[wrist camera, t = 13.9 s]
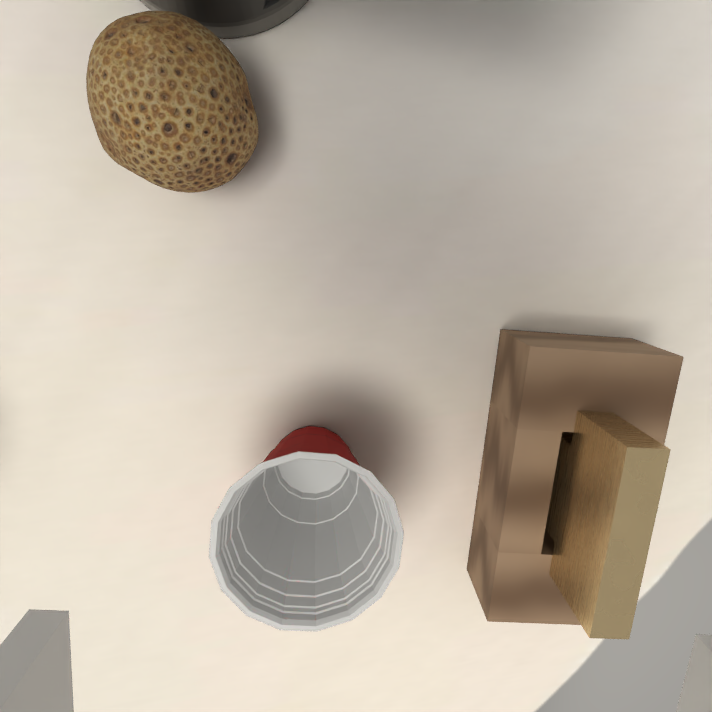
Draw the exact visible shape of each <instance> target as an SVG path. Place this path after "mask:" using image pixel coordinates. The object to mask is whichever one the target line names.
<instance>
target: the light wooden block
mask: <svg viewBox="0 0 712 712" xmlns="http://www.w3.org/2000/svg"><path fill="white" fill-rule="evenodd" d="M669 454H670V449H669V448H667V447H666V446H664V445H663V444H661V443H660V442H658V441H657V440H655V439H653V438H652V437H650V436H649V435H647V434H646V433H644V432H643V431H641V430H640V429H638V428H636V427H635V426H633V425H632V424H630V423H629V422H627V421H626V420H624V419H622V418H621V417H619V416H618V415H616V414H615V413H611V412H593V411H577V415H576V421H575V427H574V432H562V436H561V442H560V448H559V453H558V459H557V465H556V471H555V476H554V482H553V488H552V493H551V499H550V505H549V511H548V516H547V522H546V528H545V529H546V531H547V532H548V533H549V535H550V536H551V538H552V539H553V540H554V542H555V543H554V548H553V554H552V560H551V566H550V571H549V575H550V576H551V578H552V579H553V581H554V583H555V584H556V586H557V587H558V589H559V591H560V592H561V594H562V595H563V597H564V598H565V600H566V602H567V603H568V605H569V606H570V608H571V610H572V611H573V613H574V614H575V616H576V617H577V619H578V621H579V622H580V624H581V625H582V627H583V629H584V630H585V632H586V633H587V635H588V636H589V638H605V639H629V637H630V632H631V628H632V623H633V618H634V614H635V610H636V605H637V600H638V596H639V591H640V587H641V582H642V577H643V573H644V568H645V564H646V559H647V555H648V550H649V545H650V541H651V536H652V532H653V527H654V522H655V518H656V513H657V509H658V504H659V499H660V495H661V490H662V486H663V481H664V477H665V472H666V467H667V463H668V458H669Z"/></svg>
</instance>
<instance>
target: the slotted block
mask: <svg viewBox="0 0 712 712" xmlns="http://www.w3.org/2000/svg"><path fill="white" fill-rule="evenodd" d="M682 361H683V357H682V356H680V355H677V354H674V353H671V352H668V351H665V350H663V349H660V348H657V347H654V346H651V345H649V344H646V343H643V342H640V341H637V340H635V339H631V338H617V337H603V336H588V335H574V334H560V333H546V332H532V331H517V330H503V329H501V330H500V337H499V344H498V351H497V359H496V366H495V373H494V380H493V387H492V394H491V401H490V408H489V415H488V423H487V430H486V437H485V444H484V451H483V458H482V465H481V472H480V479H479V486H478V494H477V501H476V508H475V515H474V522H473V529H472V536H471V543H470V550H469V558H468V565H467V571H468V573H469V576H470V578H471V581H472V583H473V586H474V588H475V591H476V593H477V596H478V598H479V601H480V603H481V606H482V609H483V611H484V614H485V616H486V619H487V621H492V622H519V623H545V624H572V625H581V624H580V622H579V621H578V619H577V617H576V616H575V614H574V613H573V611H572V610H571V608H570V606H569V605H568V603H567V602H566V600H565V598H564V597H563V595H562V594H561V592H560V591H559V589H558V587H557V586H556V584H555V583H554V581H553V579H552V578H551V576H550V575H549V571H550V566H551V560H552V554H553V548H554V543H555V542H554V540H553V539H552V538H551V536H550V535H549V533H548V532H547V531H546V529H545V528H546V522H547V516H548V511H549V505H550V499H551V493H552V488H553V482H554V476H555V471H556V465H557V459H558V453H559V448H560V442H561V436H562V432H574V427H575V421H576V415H577V411H593V412H611V413H615V414H616V415H618V416H619V417H621V418H622V419H624V420H626V421H627V422H629V423H630V424H632V425H633V426H635V427H636V428H638V429H640V430H641V431H643V432H644V433H646V434H647V435H649V436H650V437H652V438H653V439H655V440H657V441H658V442H660V443H661V444H663V445H664V443H665V438H666V434H667V429H668V425H669V420H670V416H671V411H672V407H673V402H674V398H675V393H676V389H677V384H678V379H679V375H680V370H681V366H682Z"/></svg>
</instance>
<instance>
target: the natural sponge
mask: <svg viewBox="0 0 712 712" xmlns="http://www.w3.org/2000/svg"><path fill="white" fill-rule="evenodd" d="M86 80H87V97H88V103H89V109H90V113H91V116H92V120H93V123H94V126H95V128H96V131H97V135H98V138H99V140H100V142H101V145H102V147H103V148H104V150H105V151H106V152H107V154H108V155H109V156H110V157H111V158H112V159H113V160H114V161H115V162H117V163H118V164H119V165H121V166H123V167H125V168H126V169H128V170H130V171H131V172H133V173H135V174H137V175H138V176H140V177H142V178H144V179H146V180H147V181H149V182H151V183H153V184H156V185H158V186H160V187H163V188H166V189H169V190H173V191H178V192H201V191H206V190H210V189H213V188H216V187H219V186H221V185H223V184H225V183H226V182H229V181H231V180H232V179H233V178H234V177H235V176H236V175H237V174H238V173H239V172H240V171H241V169H242V168H243V167H244V166H245V165H246V163H247V162H248V160H249V159H250V157H251V155H252V154H253V152H254V149H255V147H256V145H257V141H258V121H257V116H256V113H255V110H254V107H253V103H252V99H251V95H250V92H249V88H248V83H247V80H246V76H245V74H244V72H243V70H242V68H241V66H240V65H239V63H238V62H237V60H236V58H235V57H234V56H233V55H232V53H231V52H230V51H229V49H228V48H227V47H226V46H225V45H224V44H223V43H222V42H221V40H220V39H219V38H218V37H217V36H216V35H215V34H214V33H213V32H211V31H210V30H209V29H207V28H206V27H205V26H203V25H202V24H200V23H199V22H197V21H196V20H194V19H191V18H189V17H187V16H185V15H182V14H180V13H175V12H170V11H146V12H141V13H136V14H133V15H129V16H124V17H122V18H120V19H117V20H116V21H114V22H112V23H111V24H110V25H108V26H107V27H106V28H105V29H104V30H103V31H102V32H101V33H100V35H99V36H98V38H97V39H96V41H95V42H94V45H93V47H92V50H91V53H90V56H89V62H88V67H87V77H86Z"/></svg>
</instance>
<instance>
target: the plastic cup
mask: <svg viewBox="0 0 712 712" xmlns="http://www.w3.org/2000/svg"><path fill="white" fill-rule="evenodd" d="M403 536H404V531H403V528H402V524H401V521H400V517H399V514H398V511H397V507H396V504H395V500H394V498H393V497H392V496H391V495H390V494H389V492H388V491H387V490H386V489H385V488H384V487H383V485H382V484H381V483H380V482H379V481H378V479H377V478H376V477H375V476H374V475H373V474H372V472H371V471H369V470H367V469H365V468H363V467H361V466H360V465H359V463H358V462H357V460H356V458H355V457H354V456H353V455H352V453H351V451H350V449H349V447H348V446H347V445H346V444H345V442H344V441H343V440H342V439H341V438H340V437H339V435H337V434H336V433H334V432H332V431H330V430H328V429H326V428H323V427H313V426H308V427H304V428H301V429H297V430H295V431H293V432H291V433H290V434H289V435H287V436H286V437H285V438H283V439H282V440H281V441H280V442H279V444H278V445H277V447H276V448H275V449H273V450H272V451H271V452H270V454H269V455H268V456H267V457H266V459H265V460H264V461H263V462H262V463H260V464H259V465H257V466H256V467H255V468H254V469H252V470H251V471H250V472H249V473H247V474H246V475H245V476H244V477H242V478H241V479H240V480H239V481H237V482H236V483H235V484H234V485H232V486H231V487H230V488H229V490H228V491H227V493H226V495H225V497H224V499H223V501H222V502H221V504H220V506H219V508H218V510H217V512H216V513H215V515H214V517H213V519H212V522H211V535H210V548H209V559H210V561H211V564H212V567H213V569H214V572H215V575H216V577H217V580H218V583H219V585H220V588H221V590H222V591H223V592H224V593H225V594H226V595H227V596H228V597H229V598H230V600H231V601H232V602H233V603H234V604H235V605H236V606H237V607H238V608H239V609H240V610H241V611H242V612H243V613H244V614H245V615H246V616H248V617H251V618H253V619H255V620H258V621H260V622H262V623H265V624H267V625H269V626H272V627H274V628H276V629H279V630H294V631H320V630H323V629H326V628H329V627H332V626H335V625H339V624H342V623H345V622H348V621H351V620H353V619H354V618H356V617H357V616H358V615H359V614H361V613H362V612H363V611H365V610H366V609H367V608H368V607H370V606H371V605H372V604H374V603H375V602H376V601H377V600H379V599H380V598H381V597H382V595H383V593H384V592H385V590H386V588H387V587H388V585H389V583H390V582H391V580H392V578H393V577H394V575H395V573H396V572H397V570H398V568H399V565H400V557H401V550H402V543H403Z"/></svg>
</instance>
